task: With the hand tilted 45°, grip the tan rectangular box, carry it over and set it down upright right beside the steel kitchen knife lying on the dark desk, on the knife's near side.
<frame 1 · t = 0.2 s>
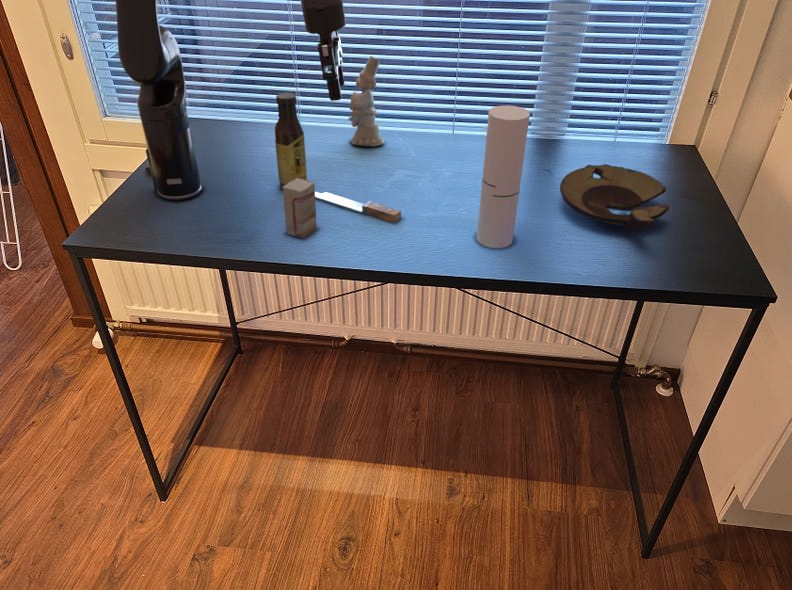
hand: (337, 92, 130), 23 cm above the table, tool pointing down, fingers open, 8 cm apart
knife: (354, 207, 142), on the table
figurine: (366, 143, 169), on the table
sauce bottle: (294, 187, 149), on the table
cylindrical container: (494, 239, 132), on the table
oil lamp: (609, 217, 140), on the table
tan rectangular box: (302, 232, 134), on the table
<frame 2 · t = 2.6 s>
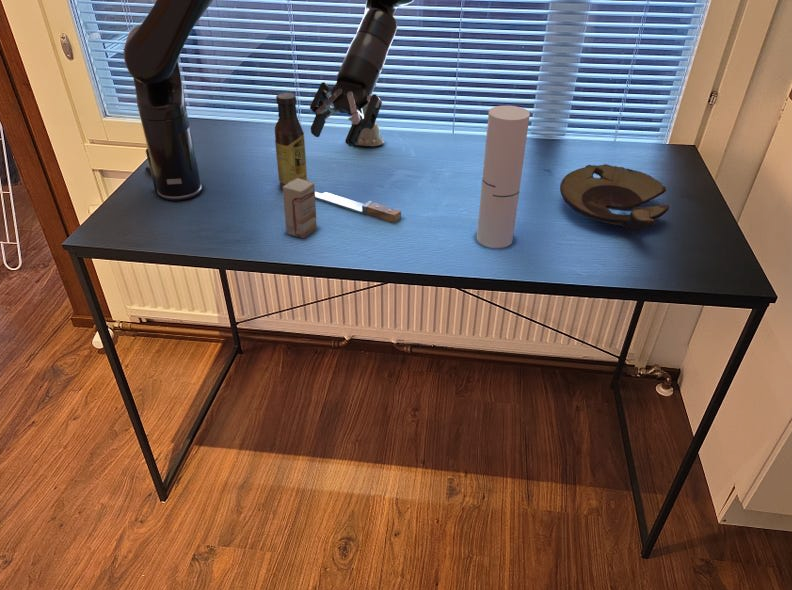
hand: (331, 139, 131), 15 cm above the table, tool tilted 45°, fingers open, 8 cm apart
nothing on the table moved.
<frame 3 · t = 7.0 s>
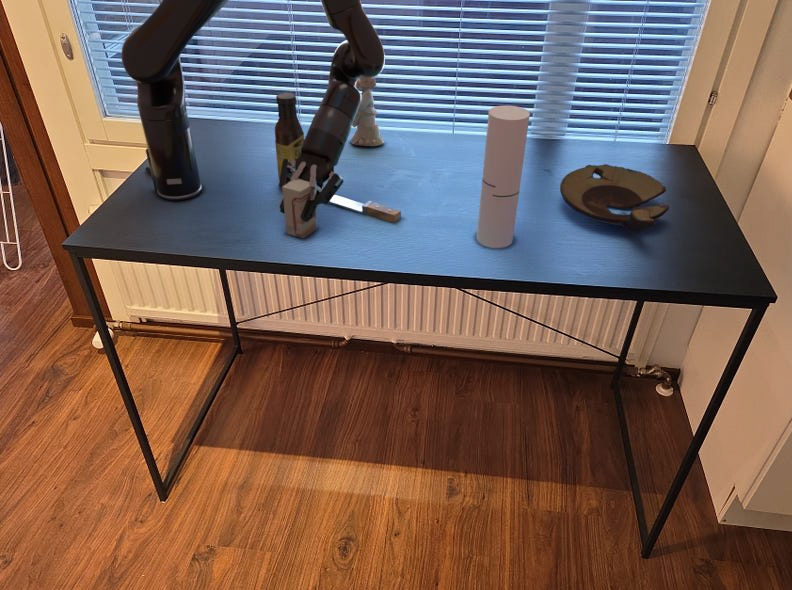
hand: (294, 216, 129), 4 cm above the table, tool tilted 45°, fingers closed on tan rectangular box, 4 cm apart
tan rectangular box: (302, 232, 133), on the table, touching gripper
everything else where it was.
when the fingers open (4 cm above the table, at t = 14.7 s): tan rectangular box stays where it is, on the table.
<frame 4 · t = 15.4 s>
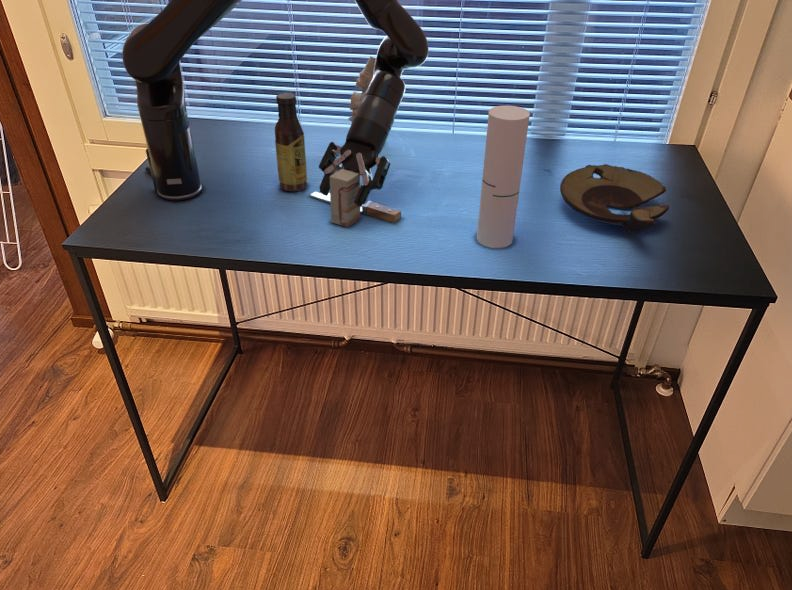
hand: (340, 199, 133), 5 cm above the table, tool tilted 45°, fingers open, 8 cm apart
tan rectangular box: (346, 221, 137), on the table
everything else where it was.
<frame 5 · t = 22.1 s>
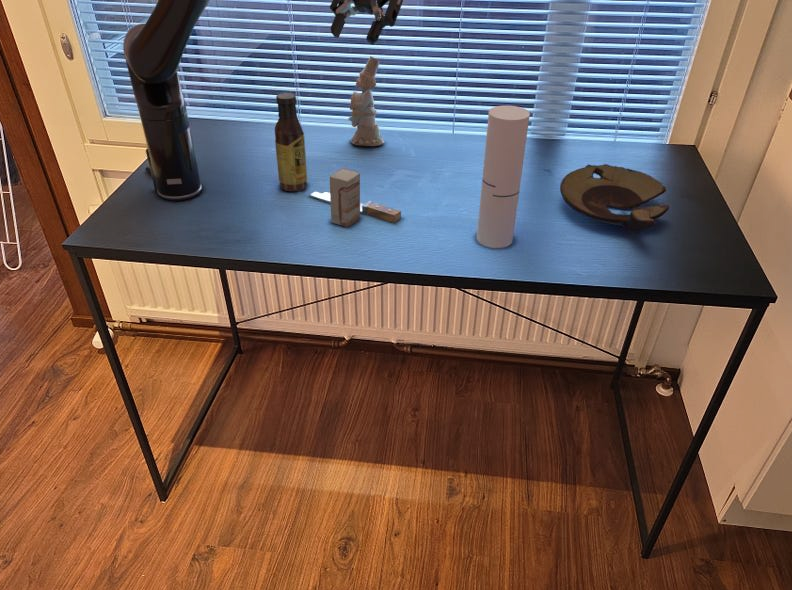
hand: (351, 38, 130), 31 cm above the table, tool tilted 45°, fingers open, 8 cm apart
nothing on the table moved.
at the end: tan rectangular box inside the target area on the table beside the knife (4.2 cm from its centre), on the table; tan rectangular box tilted 0°; the gripper is holding nothing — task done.
